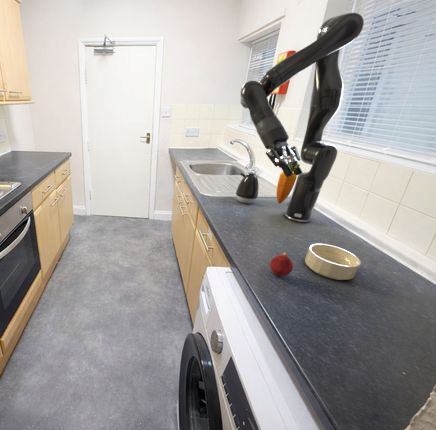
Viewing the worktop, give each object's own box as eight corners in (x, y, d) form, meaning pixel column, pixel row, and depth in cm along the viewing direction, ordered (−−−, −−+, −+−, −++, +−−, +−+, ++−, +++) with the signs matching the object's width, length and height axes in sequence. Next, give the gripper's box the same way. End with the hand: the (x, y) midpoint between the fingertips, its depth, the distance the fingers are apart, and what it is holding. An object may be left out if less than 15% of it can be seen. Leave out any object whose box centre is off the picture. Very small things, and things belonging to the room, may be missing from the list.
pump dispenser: (236, 196, 142) (242, 169, 136) (257, 201, 137) (265, 172, 130) (231, 202, 135) (238, 173, 128) (253, 207, 129) (261, 177, 123)
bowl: (297, 255, 91) (302, 241, 89) (339, 260, 89) (346, 246, 87) (314, 277, 80) (320, 262, 78) (362, 285, 78) (370, 269, 75)
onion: (291, 283, 78) (300, 260, 74) (270, 280, 79) (278, 257, 75) (284, 271, 83) (292, 249, 79) (264, 268, 84) (271, 247, 80)
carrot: (288, 203, 95) (302, 162, 88) (285, 207, 91) (299, 164, 85) (273, 199, 98) (286, 159, 91) (269, 203, 94) (282, 161, 88)
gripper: (267, 125, 86) (292, 171, 82) (293, 124, 92) (318, 167, 88) (249, 139, 93) (271, 182, 88) (274, 137, 99) (296, 178, 95)
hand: (294, 174), depth 88 cm, fingers closed on carrot, 4 cm apart
